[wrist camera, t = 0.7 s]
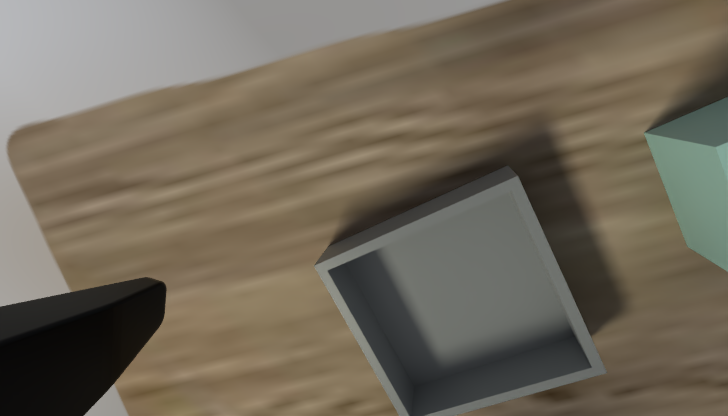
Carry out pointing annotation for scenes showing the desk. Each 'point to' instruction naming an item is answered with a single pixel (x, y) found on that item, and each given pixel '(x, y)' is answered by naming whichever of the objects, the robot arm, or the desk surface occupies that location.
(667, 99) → the desk surface
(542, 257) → the grey square tray
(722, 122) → the teal crate
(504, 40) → the desk surface
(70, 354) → the robot arm
